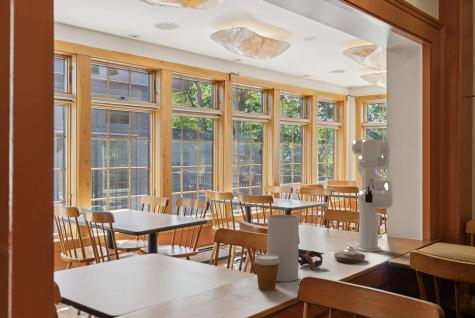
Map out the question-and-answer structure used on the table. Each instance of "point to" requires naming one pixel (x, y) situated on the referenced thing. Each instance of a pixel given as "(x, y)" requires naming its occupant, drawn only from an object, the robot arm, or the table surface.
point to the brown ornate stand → (310, 259)
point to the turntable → (349, 258)
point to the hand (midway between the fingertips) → (368, 202)
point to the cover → (350, 252)
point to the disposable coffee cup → (267, 271)
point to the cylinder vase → (284, 245)
